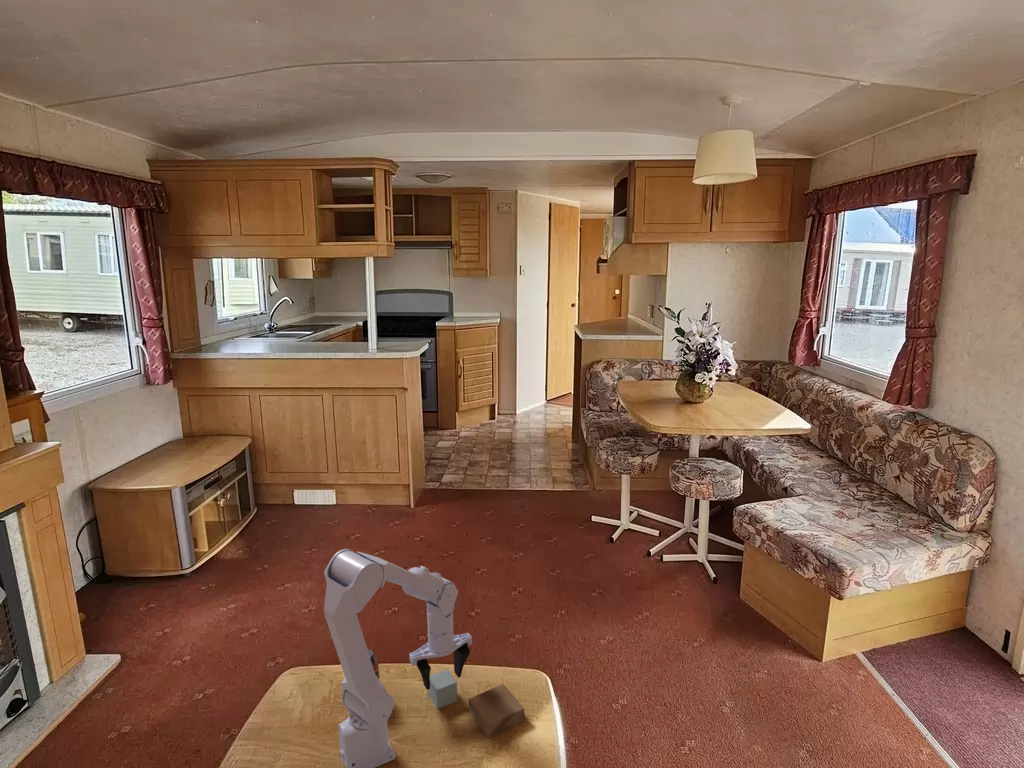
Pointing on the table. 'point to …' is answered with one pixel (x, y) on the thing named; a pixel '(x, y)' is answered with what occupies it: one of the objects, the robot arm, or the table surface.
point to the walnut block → (496, 710)
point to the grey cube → (443, 689)
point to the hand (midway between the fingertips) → (442, 680)
